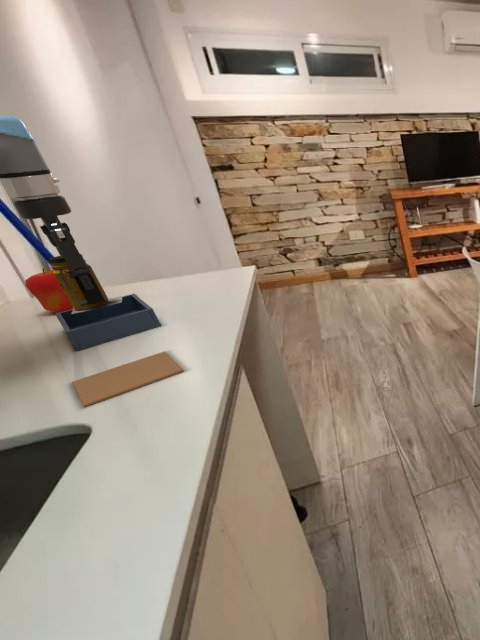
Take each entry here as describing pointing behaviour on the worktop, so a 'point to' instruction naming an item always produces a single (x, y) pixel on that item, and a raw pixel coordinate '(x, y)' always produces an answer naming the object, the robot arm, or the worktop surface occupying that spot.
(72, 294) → the condiment
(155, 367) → the mat
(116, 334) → the bin
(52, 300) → the apple
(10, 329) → the worktop surface
